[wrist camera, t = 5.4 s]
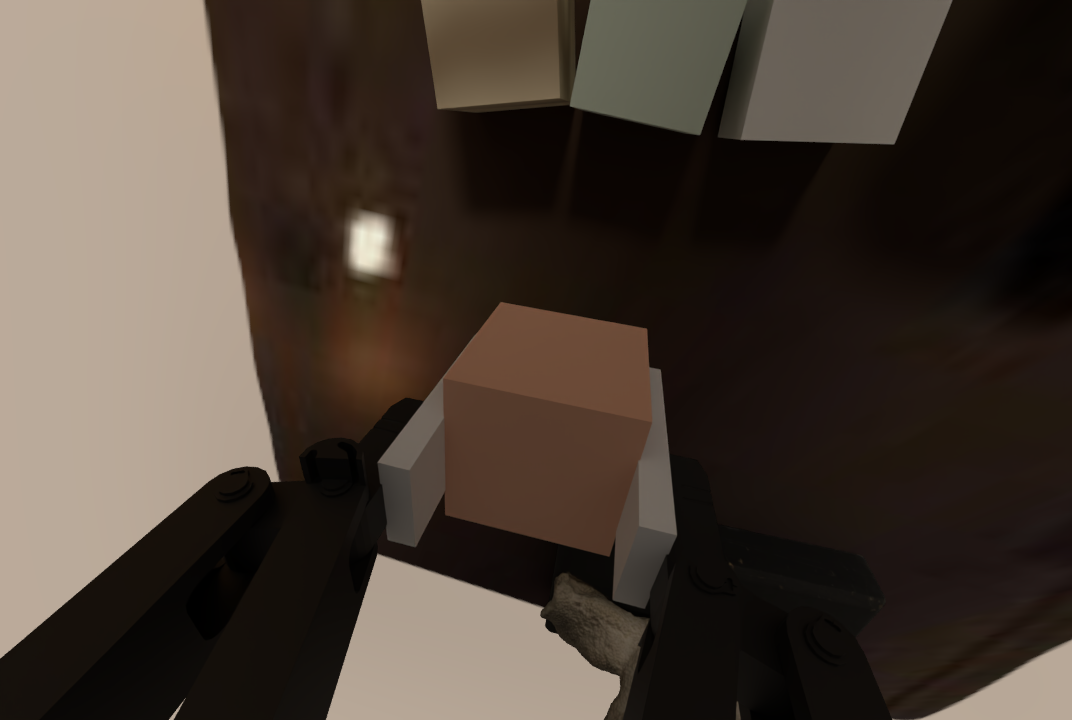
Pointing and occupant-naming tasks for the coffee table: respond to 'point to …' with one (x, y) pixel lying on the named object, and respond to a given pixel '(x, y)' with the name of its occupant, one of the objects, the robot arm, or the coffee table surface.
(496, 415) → the terracotta cube
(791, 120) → the offwhite cube
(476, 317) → the coffee table surface
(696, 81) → the sage cube
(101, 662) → the robot arm
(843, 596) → the coral
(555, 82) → the maple cube
